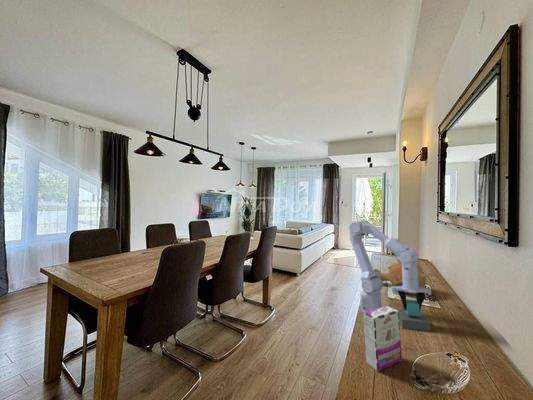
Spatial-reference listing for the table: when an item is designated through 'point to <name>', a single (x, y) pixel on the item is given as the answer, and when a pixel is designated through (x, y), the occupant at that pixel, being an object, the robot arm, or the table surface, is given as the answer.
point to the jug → (396, 275)
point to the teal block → (412, 308)
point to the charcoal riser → (413, 321)
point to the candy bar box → (382, 337)
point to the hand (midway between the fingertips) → (411, 309)
